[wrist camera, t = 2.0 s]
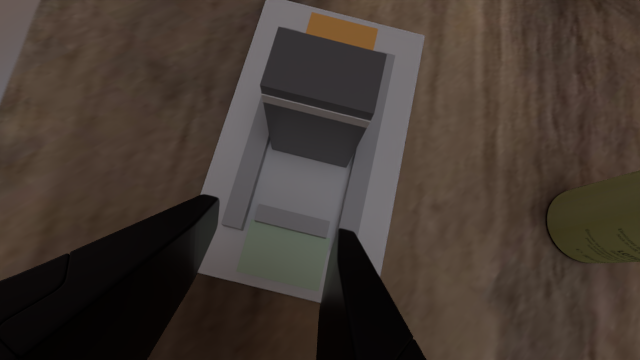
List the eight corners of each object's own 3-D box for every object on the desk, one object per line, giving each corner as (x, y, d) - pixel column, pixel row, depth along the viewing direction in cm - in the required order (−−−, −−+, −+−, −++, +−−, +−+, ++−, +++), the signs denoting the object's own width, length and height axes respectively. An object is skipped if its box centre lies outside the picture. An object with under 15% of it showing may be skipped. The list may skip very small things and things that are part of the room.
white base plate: (371, 314, 21) (376, 318, 20) (178, 267, 21) (170, 267, 20) (422, 39, 26) (429, 26, 25) (267, -1, 26) (266, -16, 25)
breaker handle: (346, 168, 23) (374, 114, 15) (271, 150, 23) (259, 86, 15) (355, 125, 23) (387, 52, 16) (284, 107, 23) (278, 25, 15)
